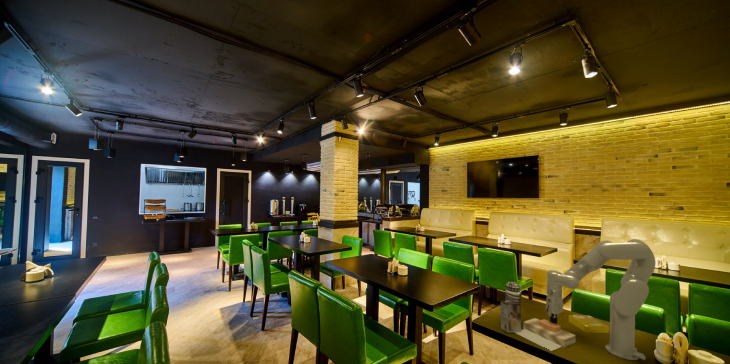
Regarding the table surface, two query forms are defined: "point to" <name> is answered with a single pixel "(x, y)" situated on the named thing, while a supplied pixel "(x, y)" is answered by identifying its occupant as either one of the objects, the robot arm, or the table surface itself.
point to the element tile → (588, 324)
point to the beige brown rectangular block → (550, 333)
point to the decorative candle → (513, 292)
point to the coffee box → (510, 316)
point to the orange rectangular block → (549, 325)
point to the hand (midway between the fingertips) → (553, 323)
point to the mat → (538, 339)
